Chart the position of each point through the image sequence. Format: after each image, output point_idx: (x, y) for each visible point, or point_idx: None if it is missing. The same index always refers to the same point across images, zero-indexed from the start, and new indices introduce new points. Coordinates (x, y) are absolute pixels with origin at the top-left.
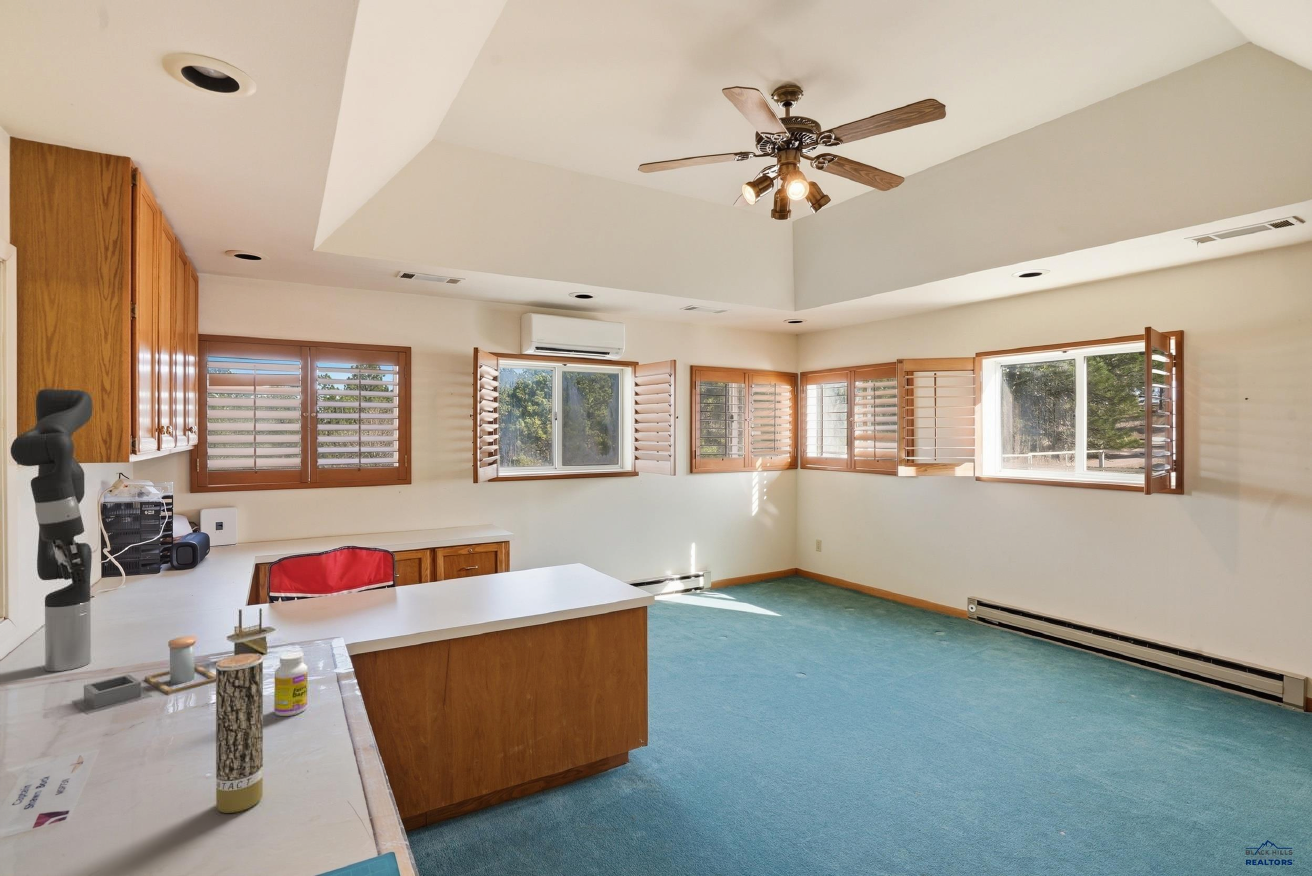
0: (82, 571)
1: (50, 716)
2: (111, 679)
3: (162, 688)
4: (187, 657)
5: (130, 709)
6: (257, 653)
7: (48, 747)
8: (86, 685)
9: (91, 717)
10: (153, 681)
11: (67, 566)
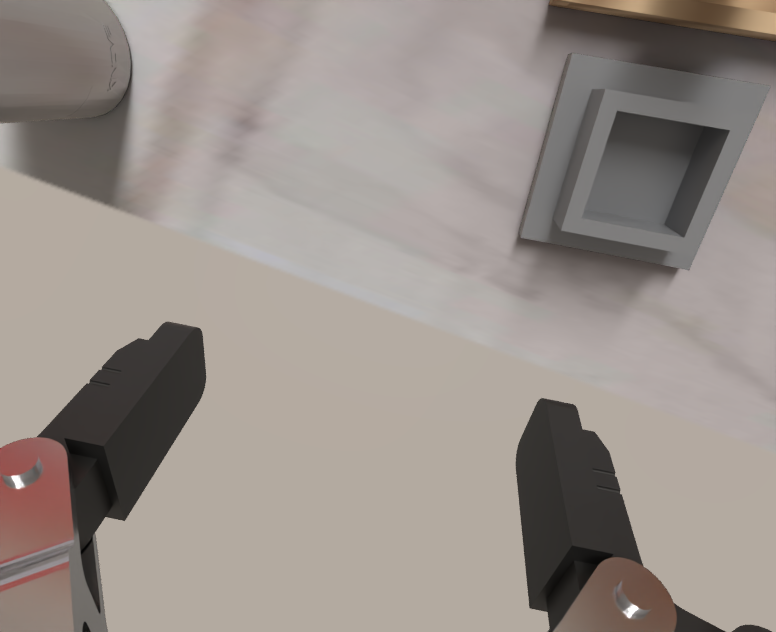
0: (603, 527)
1: (535, 288)
2: (599, 154)
3: (762, 33)
4: None
5: None
6: None
7: (754, 380)
8: (574, 228)
9: None
10: (649, 11)
11: (132, 464)
